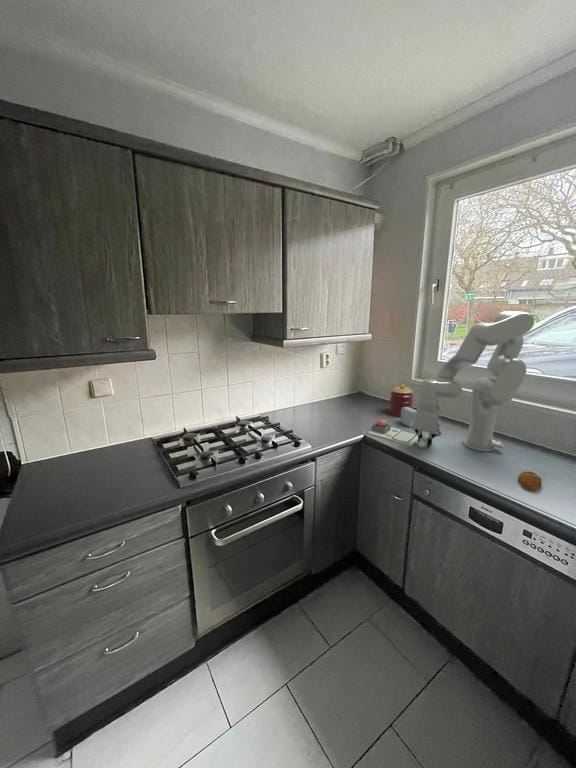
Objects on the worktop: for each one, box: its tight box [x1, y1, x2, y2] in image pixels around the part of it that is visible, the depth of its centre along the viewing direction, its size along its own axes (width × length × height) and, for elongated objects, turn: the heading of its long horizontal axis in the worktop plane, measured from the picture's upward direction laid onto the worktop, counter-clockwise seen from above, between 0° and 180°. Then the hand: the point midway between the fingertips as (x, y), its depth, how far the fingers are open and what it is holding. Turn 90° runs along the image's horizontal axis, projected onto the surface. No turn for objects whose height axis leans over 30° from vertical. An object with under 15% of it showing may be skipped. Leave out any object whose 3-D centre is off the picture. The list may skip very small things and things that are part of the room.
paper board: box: [367, 422, 418, 447], centre depth 156 cm, size 22×14×3 cm, turn 49°
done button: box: [376, 418, 387, 428], centre depth 160 cm, size 4×4×3 cm
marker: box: [418, 434, 429, 449], centre depth 145 cm, size 3×10×3 cm, turn 139°
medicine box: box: [399, 407, 417, 428], centre depth 168 cm, size 8×4×9 cm, turn 22°
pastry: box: [517, 470, 543, 492], centre depth 113 cm, size 9×7×4 cm
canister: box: [388, 383, 415, 418], centre depth 184 cm, size 13×13×18 cm
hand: (424, 444), depth 145 cm, fingers closed on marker, 3 cm apart
